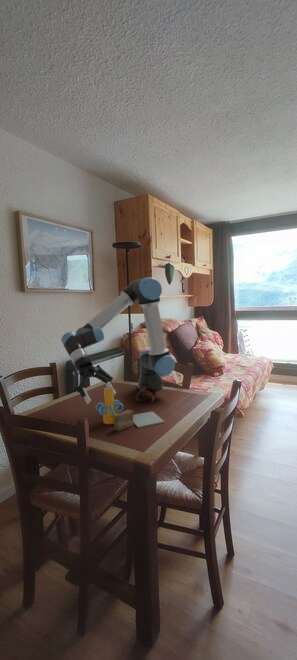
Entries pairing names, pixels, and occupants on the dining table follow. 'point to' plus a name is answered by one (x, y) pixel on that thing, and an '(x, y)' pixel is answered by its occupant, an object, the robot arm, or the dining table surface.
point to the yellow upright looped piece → (109, 406)
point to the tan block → (123, 420)
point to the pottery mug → (145, 391)
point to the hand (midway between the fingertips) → (102, 398)
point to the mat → (146, 419)
